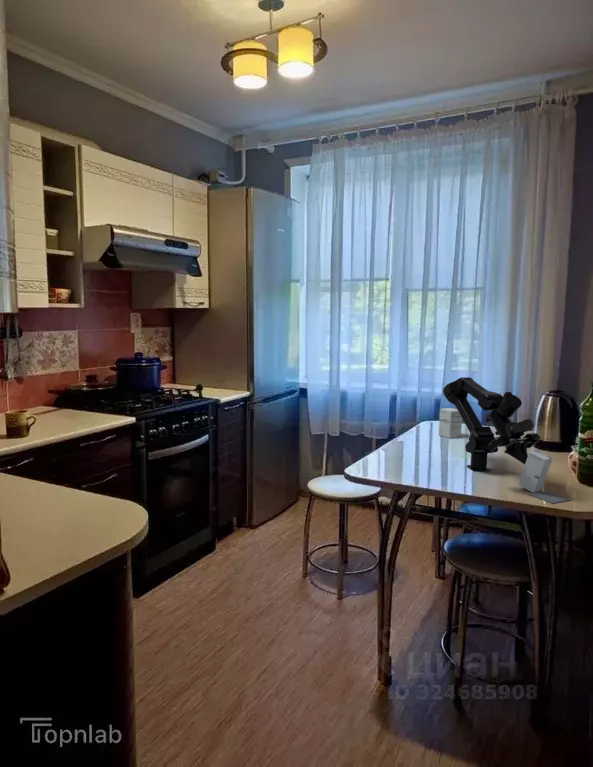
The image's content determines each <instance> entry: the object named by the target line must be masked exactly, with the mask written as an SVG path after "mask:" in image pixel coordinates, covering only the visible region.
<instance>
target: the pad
mask: <svg viewBox="0 0 593 767" xmlns="http://www.w3.org/2000/svg"><path fill="white" fill-rule="evenodd" d="M528 495H529V496H531V497H533V498H536V499H538V498H539V499H538V500H541V499H542V501H543V502H546V501H547V503H549V504H553V505H554V504H558V503H559V504H560V503H564V501H565V502H569V500H570V501H572V498H569V497H566V496H564V495H560V494H559V493H555V492H552V491H550V490H543V491H542V490H541V491H539V492H535V493H533V492H530V493H527V496H528Z"/></svg>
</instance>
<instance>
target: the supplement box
mask: <svg viewBox="0 0 593 767" xmlns="http://www.w3.org/2000/svg"><path fill="white" fill-rule="evenodd" d="M462 423H463V419H462V417H461V415H460V413H459V411H458V410H457V408H453V407H448V408H447V407H444V408H440V409H439V424H438V436H442V437H444V438H448V439H456V438H455V437H458V438H462V425H463V424H462Z"/></svg>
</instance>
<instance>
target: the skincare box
mask: <svg viewBox="0 0 593 767" xmlns="http://www.w3.org/2000/svg"><path fill="white" fill-rule="evenodd" d="M527 454H528V457H527V460H526V463H525V464H524V466H523V469H522V472H521V475H520V478H519V480H518V485H519V486H521V487H522V488H524V489H525V490H527V491H529V492H530V493H536V492H538V491H539V492H542V488H543V485H544V482H545V480H546V477H547V474H548V471H549V469H550V467H551V463H552V461H553V457H552V456H549V455H547V454H545V453H543V452H542V451H539V450H537V449H536V450H531V451H529V452H528V453H527Z"/></svg>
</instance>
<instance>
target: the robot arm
mask: <svg viewBox="0 0 593 767" xmlns="http://www.w3.org/2000/svg"><path fill="white" fill-rule="evenodd" d="M442 392H443V396H444V397H445V399H446V400H447V401H448V402H449V403H451V404H452V405H454V406H455V409H457V410H458V411H459V413H460V415H461V417H462V422H463V423H464V424H465V426H466V428H467V430H468V432H469V437H468V442H467V443H466V444H465V445H464V446H465V452H466V453H469V454H470V464H467V465H466V467H467V468H468V469H469V470H472V471H473V472H488V471H489V472H490V471H491V469H490V468H489V467H487V466H488V454H495V453H498V451H499V448H502V447H504V448H505V450H504V451H503V453H504V454H506V455H509V456H510V457H512V458H514V459H516V460H517V461H518V462H520V463H522V464H523V465H525V463H526V460H527V457H528V454H529V453H528V450H527V449H530V448H532V447H534V446H535V445H536V444H537V443H538V442H539V441H540V440H541V436H540V435H539V434H538V433H536V432H531V431H533V428H534V427H535V424H534V422H533V421H532V419H531V418H526V419H525V420H524V419H523V420H522V421H519V422H516V421H515V422H514V421H513V422H512V420H511V418H512V417H513V416H514V415H515V414H516V413H517V411H518V410H519V408H521V407H522V403H523V402H522V399H521V398H519V397H518V396H517V395H514V394H513V393H512V391H505V392H504V393H503V395H502V394H501V393H498V392H496V391H490V390H488V389H486V388H484V387H483V386H482V385H480V384H479V383H478V382H476V381H475V380H474V379H473V378H472V377H470V376H469V377H465V376H464V377H459V378H457V379H456V380H454V381H452V382H449V383H448V384H446V385H445V386H444V387H443V389H442ZM468 395H470V396H472V397H473V398H474V399H475V400H477V405H478V407H480V408H481V410H482V411H491V412H489V413H487V414H486V418H485V422H486V423H490V422H491V424H492V425H493V428H494V429H495V432H493V431H492V428H491V427H490V426H483V425H482V424H481V422H480V420H479V418H478V416H477V415H476V412H475V411H474V408H473V407H472V405H471V404H470V402H469V401H468ZM526 432H531V433H526ZM525 433H526V435H525ZM495 435H496V437H495Z"/></svg>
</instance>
